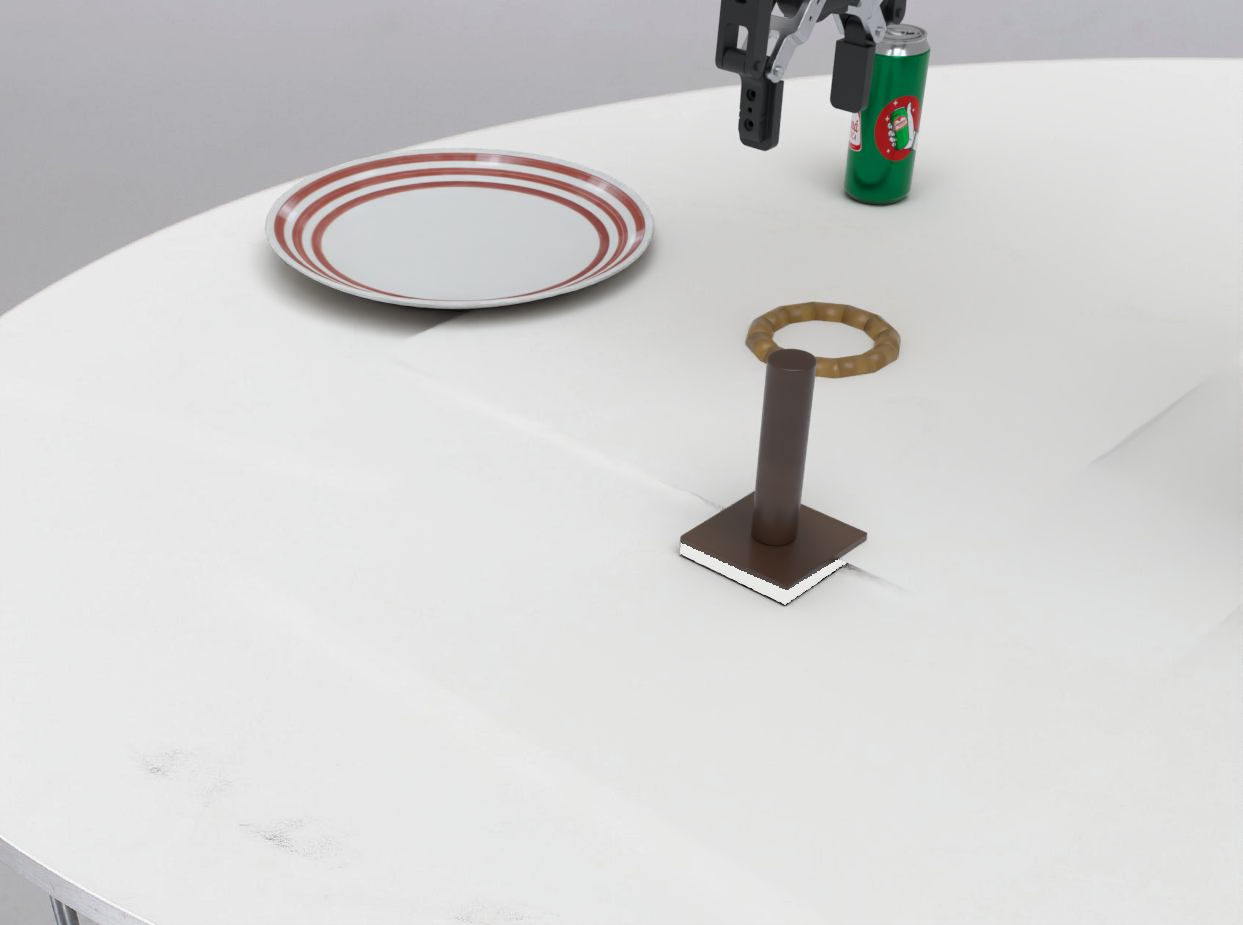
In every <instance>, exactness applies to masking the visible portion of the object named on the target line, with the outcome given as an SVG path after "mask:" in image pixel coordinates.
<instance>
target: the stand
mask: <svg viewBox="0 0 1243 925" xmlns="http://www.w3.org/2000/svg"><path fill="white" fill-rule="evenodd" d="M815 357H816V356H815V355H813V353H811V352H808V351H807V350H803V349H798V348H784V349H781V350H777V351H774V352H772V353H771V354H770V355H769V356H768V358H767V364H766V367H765V378H764V387H763V399H762V409H761V419H760V420H761V422H760V432H759V442H758V454H757V464H756V474H755V485H754V490H753V491H752V492H750V493H749V494H747V495H744V497H742V498H741V499H739V500H737V501H736V502H733V503H731V505H729V506H727V507H726V508H724V509H722V510H721V511H719V512H718V513H716V514H714V515H713V516H711V517H709V518H708V519H706V520H704V521H703V522H701V523H699V524H698V525H696V526H695V527H693V528H691V529H689V530H688V531H686V532H685V533H683V534H682V535H680V537H679V543H680V542H681V543H682V544H686V545H687V546H690V547H692V548H693V549H696V550H698V551H701V552H704V554H706V555H710V557H713V558H716V559H718V560H719V561H722V562H723V563H728V565H730V566H734V567H735V568H737V569H739V570H741V571H744V572H747V574H750V575H753V576H754V577H757V578H760V579H762V580H765V581H766V582H769V583H772V584H773V585H776V586H779V588H782V589H785V590H789V589H790V588H792V587H794V586H795V585H796V584H799V582H801V581H803V580H804V579H807V578H808V577H810V576H812V574H815V573H817V571H820V570H821V569H822V568H824V567H826V566H828V565H829V564H831V563H833V562H835V560H838V559H841V558H843V557H844V556H845V555H847V554H848V553H850V552H851V551H853V550H854V549H856V548H858V547H859V546H860V545H862V544H863V543H864V542H866V541H867V540H868V539H867V538H868V532H867V531H865V530H863V529H860V528H857V527H855V526H854V525H850V524H849V523H846V522H843V521H842V520H840V519H837V518H834V517H832V516H830V515H828V514H825V513H823V512H821V511H819V510H817V509H815V508H812V507H811V506H808V505H805V504H803V503H802V495H803V486H804V478H805V470H806V461H807V452H808V443H809V434H810V426H811V417H812V416H811V415H812V409H813V399H814V392H815V391H814V389H815V381H816V377H815V374H816V365H817V360H816V358H815Z"/></svg>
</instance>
